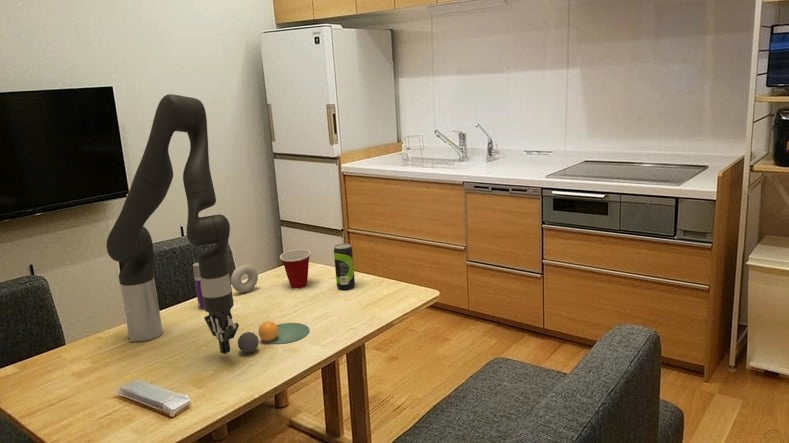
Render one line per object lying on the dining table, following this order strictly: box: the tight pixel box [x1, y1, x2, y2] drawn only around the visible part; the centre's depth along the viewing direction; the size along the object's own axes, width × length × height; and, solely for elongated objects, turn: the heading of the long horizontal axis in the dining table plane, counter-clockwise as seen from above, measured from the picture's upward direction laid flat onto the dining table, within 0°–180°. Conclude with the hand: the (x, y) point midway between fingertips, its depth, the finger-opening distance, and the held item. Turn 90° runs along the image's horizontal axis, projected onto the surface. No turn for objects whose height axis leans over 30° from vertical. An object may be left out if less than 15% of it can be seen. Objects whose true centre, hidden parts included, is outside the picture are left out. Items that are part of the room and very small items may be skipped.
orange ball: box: [257, 320, 278, 341], centre depth 170 cm, size 6×6×6 cm
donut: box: [230, 263, 259, 294], centre depth 209 cm, size 10×4×10 cm, turn 133°
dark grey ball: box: [237, 331, 260, 354], centre depth 163 cm, size 6×6×6 cm
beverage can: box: [333, 243, 356, 291], centre depth 207 cm, size 6×6×15 cm
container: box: [192, 262, 205, 311], centre depth 196 cm, size 5×5×15 cm
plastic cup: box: [279, 248, 312, 289], centre depth 211 cm, size 11×11×12 cm
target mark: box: [260, 322, 310, 345], centre depth 174 cm, size 14×14×1 cm
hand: (225, 352), depth 161 cm, fingers closed
